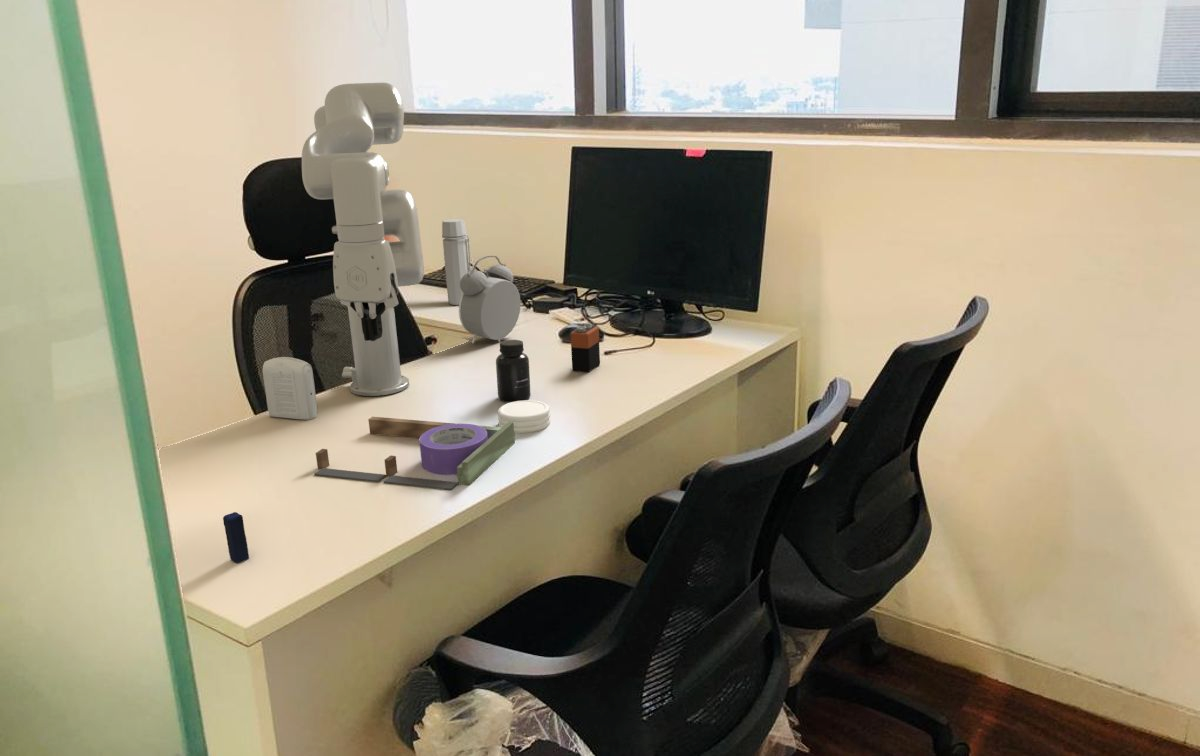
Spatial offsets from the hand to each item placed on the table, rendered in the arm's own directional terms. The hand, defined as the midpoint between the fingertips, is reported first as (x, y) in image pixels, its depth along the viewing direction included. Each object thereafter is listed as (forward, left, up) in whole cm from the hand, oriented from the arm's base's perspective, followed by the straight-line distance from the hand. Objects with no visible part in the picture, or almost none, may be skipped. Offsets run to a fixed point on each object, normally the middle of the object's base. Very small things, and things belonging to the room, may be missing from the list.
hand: (373, 338), depth 160 cm
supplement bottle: (+11, +33, -21) cm, 41 cm away
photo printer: (-29, +13, -21) cm, 38 cm away
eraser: (0, -40, -21) cm, 46 cm away
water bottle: (-39, +111, -21) cm, 119 cm away
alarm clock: (-12, +73, -21) cm, 77 cm away
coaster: (+19, +19, -22) cm, 34 cm away
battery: (+19, +56, -21) cm, 63 cm away
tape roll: (+14, -1, -22) cm, 26 cm away
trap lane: (+6, 0, -21) cm, 22 cm away
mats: (+6, -11, -21) cm, 25 cm away
